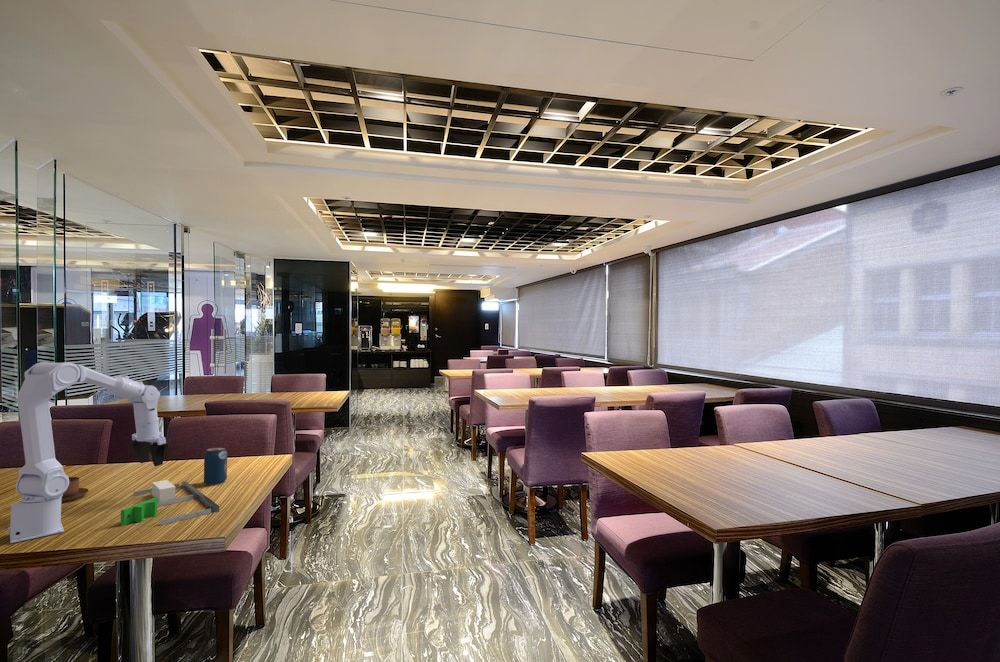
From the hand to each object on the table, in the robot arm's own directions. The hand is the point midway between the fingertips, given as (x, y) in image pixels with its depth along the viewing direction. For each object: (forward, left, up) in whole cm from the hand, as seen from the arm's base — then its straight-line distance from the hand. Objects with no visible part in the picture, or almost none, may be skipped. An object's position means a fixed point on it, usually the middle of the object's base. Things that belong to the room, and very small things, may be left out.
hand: (151, 463), depth 146 cm
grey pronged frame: (+4, -12, -11) cm, 16 cm away
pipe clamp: (-5, -21, -11) cm, 24 cm away
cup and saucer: (-19, +18, -11) cm, 29 cm away
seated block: (+3, -3, -11) cm, 11 cm away
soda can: (+19, +2, -11) cm, 22 cm away
